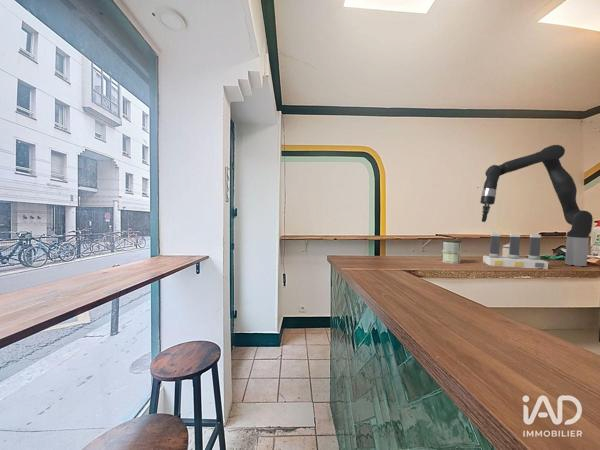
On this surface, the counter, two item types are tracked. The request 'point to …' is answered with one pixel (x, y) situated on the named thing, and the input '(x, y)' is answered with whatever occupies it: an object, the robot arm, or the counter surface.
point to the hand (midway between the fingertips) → (483, 220)
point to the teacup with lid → (505, 250)
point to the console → (515, 262)
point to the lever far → (494, 245)
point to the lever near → (534, 247)
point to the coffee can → (451, 251)
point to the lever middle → (514, 246)
